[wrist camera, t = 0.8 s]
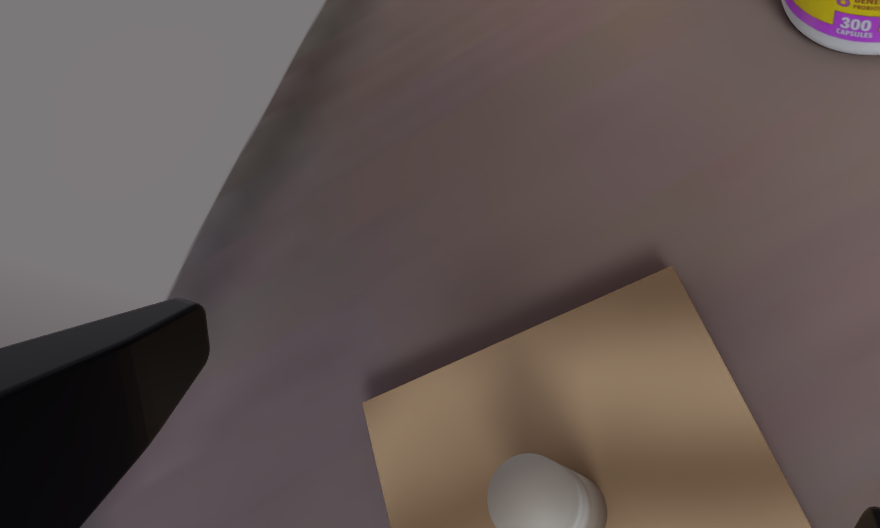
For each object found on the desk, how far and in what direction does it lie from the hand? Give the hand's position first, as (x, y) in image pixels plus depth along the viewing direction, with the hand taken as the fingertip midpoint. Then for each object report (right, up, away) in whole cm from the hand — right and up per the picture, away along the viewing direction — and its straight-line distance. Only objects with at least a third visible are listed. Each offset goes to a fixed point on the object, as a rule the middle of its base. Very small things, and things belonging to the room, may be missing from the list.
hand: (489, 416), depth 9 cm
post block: (+4, -6, +13) cm, 15 cm away
